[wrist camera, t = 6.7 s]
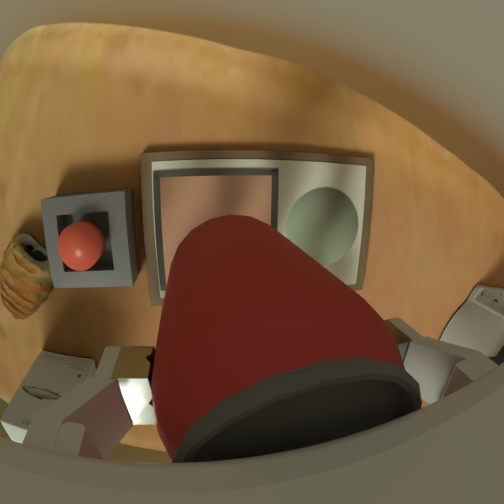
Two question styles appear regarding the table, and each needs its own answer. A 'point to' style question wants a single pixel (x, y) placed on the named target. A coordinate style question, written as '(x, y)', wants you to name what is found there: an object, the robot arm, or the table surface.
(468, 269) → the table surface
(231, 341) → the beer can
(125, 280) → the button base
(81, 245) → the button
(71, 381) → the supplement box
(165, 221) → the picture board
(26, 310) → the pastry
